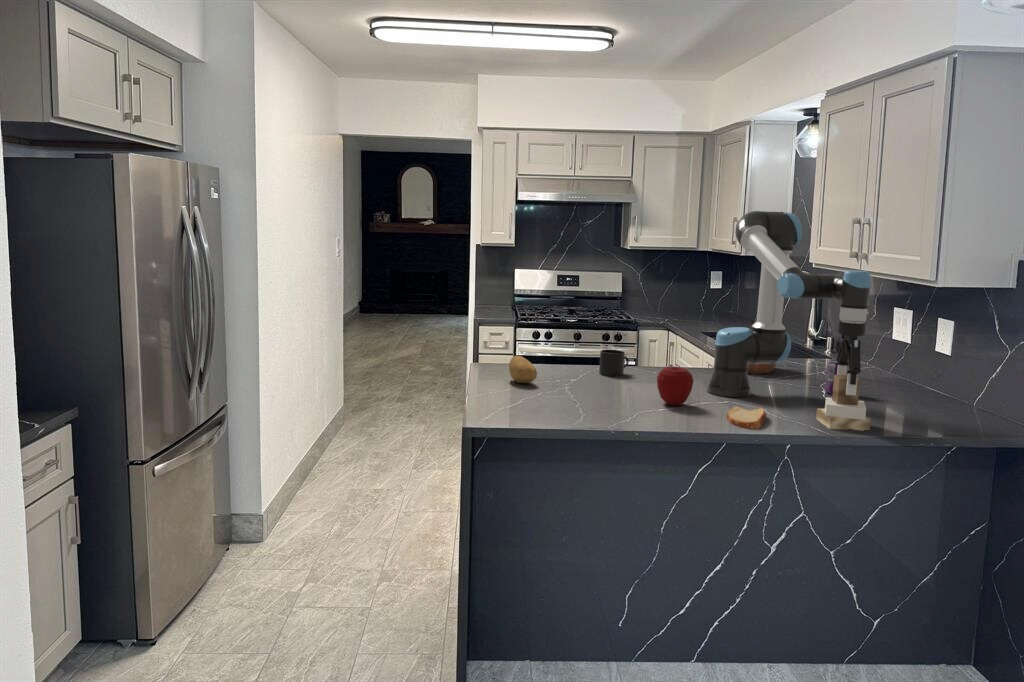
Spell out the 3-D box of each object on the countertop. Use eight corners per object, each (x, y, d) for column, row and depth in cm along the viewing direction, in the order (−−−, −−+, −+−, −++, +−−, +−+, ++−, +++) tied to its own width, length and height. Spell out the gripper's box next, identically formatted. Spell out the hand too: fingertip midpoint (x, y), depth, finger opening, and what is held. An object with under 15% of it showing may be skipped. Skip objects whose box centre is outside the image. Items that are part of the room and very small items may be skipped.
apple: (648, 401, 268) (650, 362, 266) (677, 399, 273) (680, 361, 271) (668, 409, 258) (671, 369, 255) (698, 407, 262) (701, 367, 260)
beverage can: (847, 396, 289) (850, 363, 287) (826, 394, 290) (829, 362, 289) (843, 392, 296) (846, 360, 294) (823, 390, 297) (826, 359, 295)
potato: (516, 387, 282) (517, 361, 281) (504, 379, 297) (504, 354, 296) (539, 387, 285) (540, 361, 284) (526, 378, 300) (527, 353, 298)
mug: (633, 376, 312) (634, 353, 311) (605, 376, 308) (607, 353, 307) (622, 371, 321) (623, 349, 320) (595, 372, 317) (596, 349, 316)
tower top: (825, 415, 243) (826, 404, 242) (824, 408, 253) (826, 397, 252) (865, 420, 239) (866, 408, 238) (862, 412, 249) (863, 401, 249)
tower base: (829, 430, 241) (830, 417, 240) (815, 420, 253) (816, 408, 252) (869, 432, 241) (871, 419, 240) (854, 422, 252) (855, 410, 252)
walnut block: (837, 404, 243) (839, 378, 242) (831, 399, 249) (834, 374, 248) (857, 405, 242) (860, 379, 241) (852, 400, 248) (854, 375, 247)
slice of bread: (748, 431, 236) (749, 419, 235) (707, 417, 251) (707, 405, 251) (792, 426, 244) (793, 414, 243) (749, 412, 260) (750, 401, 259)
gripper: (876, 327, 229) (868, 399, 232) (855, 317, 253) (848, 383, 257) (849, 326, 230) (841, 397, 234) (830, 316, 255) (824, 381, 258)
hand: (845, 390), depth 245 cm, fingers open, 13 cm apart
